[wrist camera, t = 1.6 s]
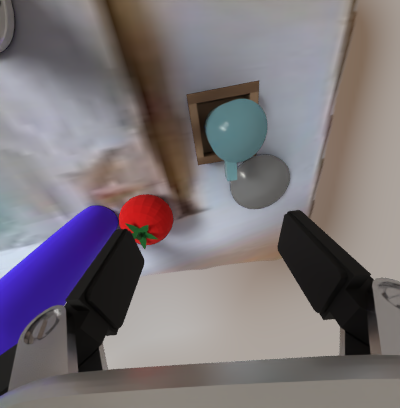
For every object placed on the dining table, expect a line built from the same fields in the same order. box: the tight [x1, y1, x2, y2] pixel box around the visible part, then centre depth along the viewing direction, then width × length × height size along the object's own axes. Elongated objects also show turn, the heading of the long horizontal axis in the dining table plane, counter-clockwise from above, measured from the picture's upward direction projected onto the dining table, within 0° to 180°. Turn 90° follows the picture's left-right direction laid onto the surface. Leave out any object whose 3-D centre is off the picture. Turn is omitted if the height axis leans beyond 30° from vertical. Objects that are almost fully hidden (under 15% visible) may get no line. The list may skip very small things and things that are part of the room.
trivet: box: [230, 154, 290, 209], centre depth 31 cm, size 12×12×1 cm
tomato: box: [119, 194, 173, 249], centre depth 30 cm, size 10×10×10 cm
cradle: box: [187, 81, 259, 165], centre depth 24 cm, size 10×10×4 cm
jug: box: [204, 99, 267, 181], centre depth 21 cm, size 10×6×11 cm, turn 9°
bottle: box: [0, 206, 118, 355], centre depth 22 cm, size 8×8×30 cm
